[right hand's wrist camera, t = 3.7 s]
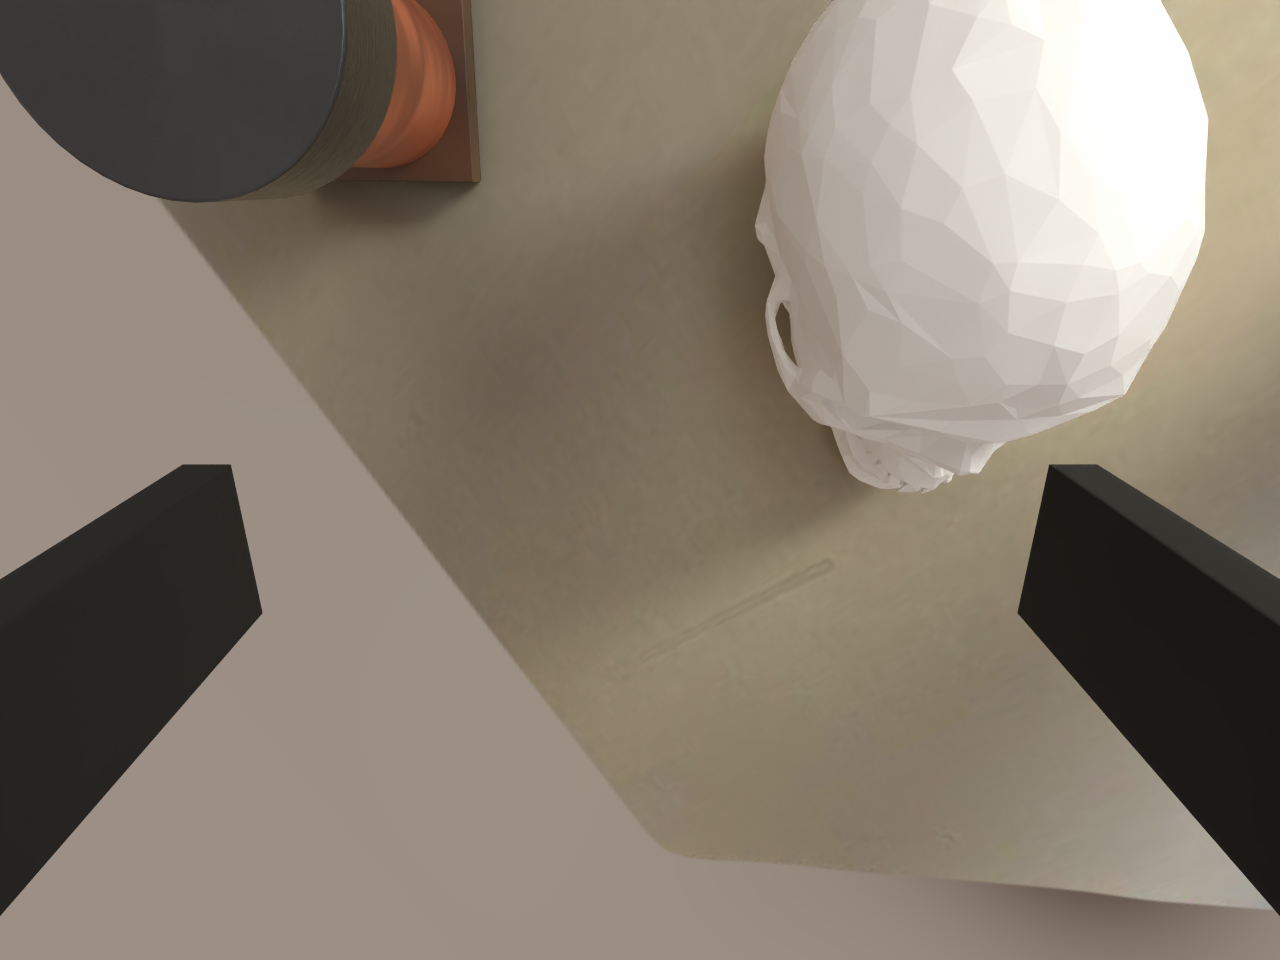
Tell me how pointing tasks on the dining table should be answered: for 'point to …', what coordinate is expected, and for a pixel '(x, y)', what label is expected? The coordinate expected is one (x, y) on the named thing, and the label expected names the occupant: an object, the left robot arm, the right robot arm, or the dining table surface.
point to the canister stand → (428, 100)
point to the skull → (977, 220)
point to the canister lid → (205, 89)
